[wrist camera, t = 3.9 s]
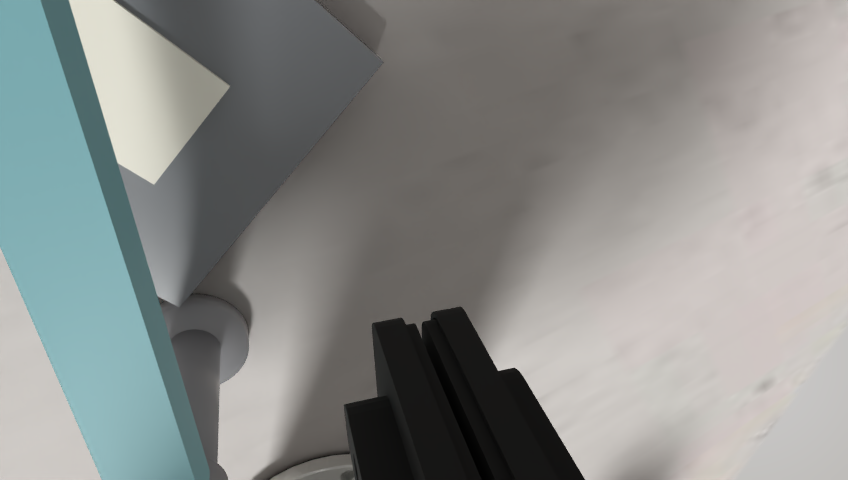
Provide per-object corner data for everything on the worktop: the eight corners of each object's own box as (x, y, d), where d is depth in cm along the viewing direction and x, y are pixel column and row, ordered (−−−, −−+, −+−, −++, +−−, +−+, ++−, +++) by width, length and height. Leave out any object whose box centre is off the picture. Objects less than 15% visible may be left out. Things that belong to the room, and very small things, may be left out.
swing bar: (235, 504, 23) (235, 579, 20) (146, 526, 22) (134, 606, 19) (24, -250, 12) (-35, -293, 9) (-171, -255, 11) (-293, -304, 8)
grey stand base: (448, 119, 27) (529, 198, 20) (209, 390, 31) (202, 544, 23) (-38, -318, 17) (-253, -496, 9) (-313, 166, 21) (-628, 314, 13)
